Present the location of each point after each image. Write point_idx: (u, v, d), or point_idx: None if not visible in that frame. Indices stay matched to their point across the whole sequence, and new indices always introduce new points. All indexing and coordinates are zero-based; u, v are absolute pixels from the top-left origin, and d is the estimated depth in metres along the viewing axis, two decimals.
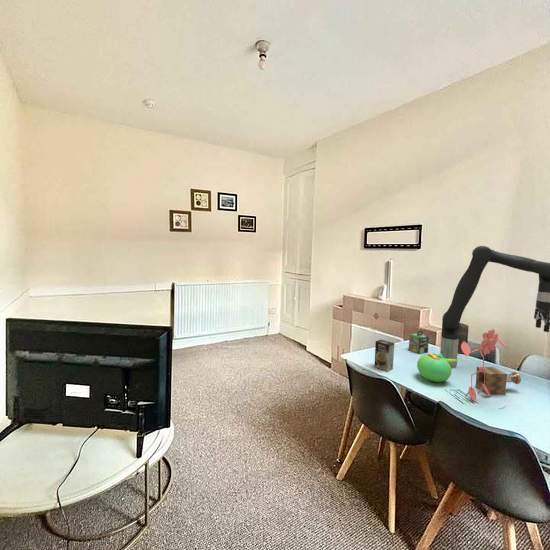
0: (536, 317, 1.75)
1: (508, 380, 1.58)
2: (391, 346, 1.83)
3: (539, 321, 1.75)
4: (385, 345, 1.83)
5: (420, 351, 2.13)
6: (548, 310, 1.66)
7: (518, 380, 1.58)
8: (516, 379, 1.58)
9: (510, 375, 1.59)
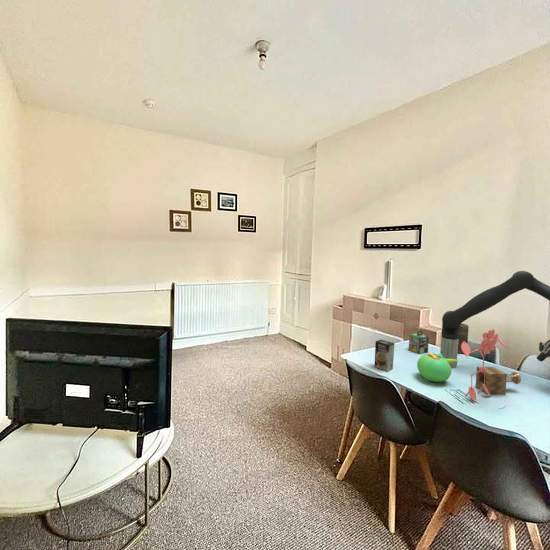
0: (543, 349, 1.61)
1: (508, 380, 1.58)
2: (391, 346, 1.83)
3: None
4: (385, 345, 1.83)
5: (420, 351, 2.13)
6: None
7: (518, 380, 1.58)
8: (516, 379, 1.58)
9: (510, 375, 1.59)
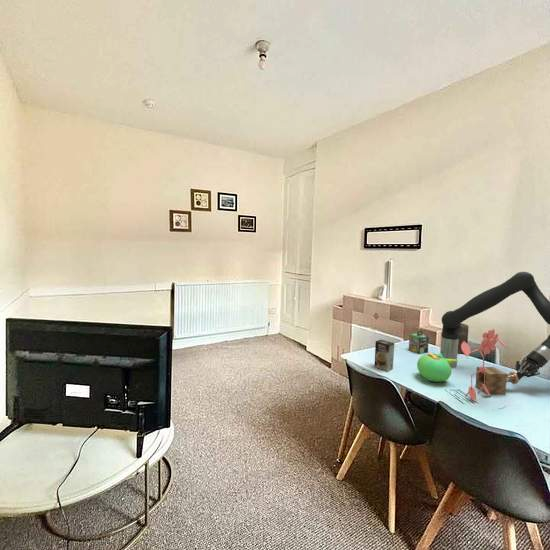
0: (519, 369, 1.62)
1: (506, 380, 1.58)
2: (391, 346, 1.83)
3: None
4: (385, 345, 1.83)
5: (420, 351, 2.13)
6: (540, 365, 1.56)
7: (516, 380, 1.58)
8: (514, 379, 1.58)
9: (508, 375, 1.59)
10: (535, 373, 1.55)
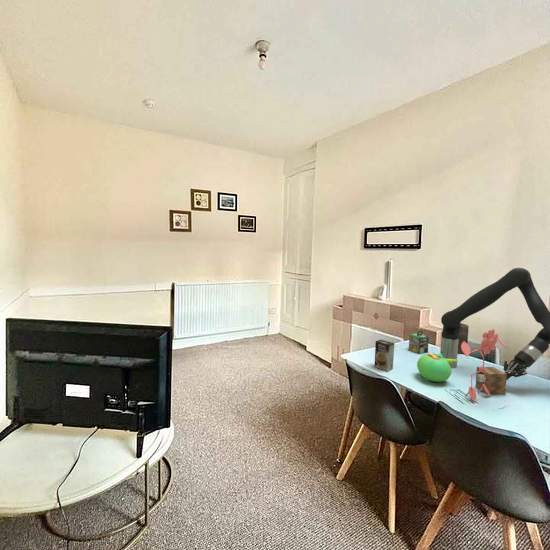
0: (507, 369, 1.61)
1: None
2: (391, 346, 1.83)
3: None
4: (385, 345, 1.83)
5: (420, 351, 2.13)
6: (527, 365, 1.56)
7: None
8: None
9: None
10: (522, 373, 1.55)
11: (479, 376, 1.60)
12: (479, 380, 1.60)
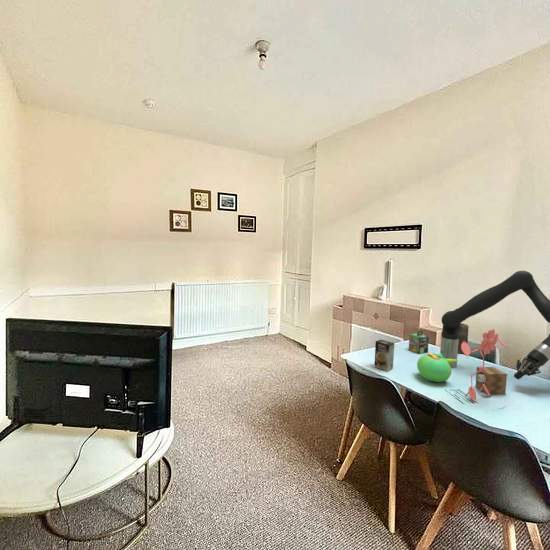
0: (520, 367, 1.61)
1: None
2: (391, 346, 1.83)
3: None
4: (385, 345, 1.83)
5: (420, 351, 2.13)
6: (540, 363, 1.56)
7: None
8: None
9: None
10: (536, 371, 1.54)
11: (479, 376, 1.60)
12: (479, 380, 1.60)
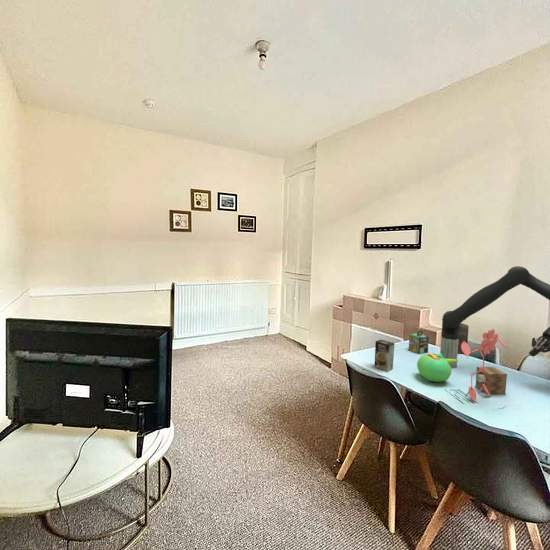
0: (535, 345, 1.63)
1: None
2: (391, 346, 1.83)
3: None
4: (385, 345, 1.83)
5: (420, 351, 2.13)
6: None
7: None
8: None
9: None
10: None
11: (479, 376, 1.60)
12: (479, 380, 1.60)
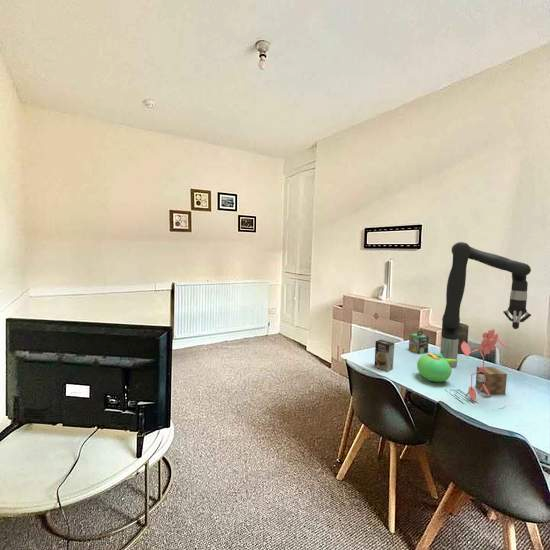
0: (513, 319, 1.78)
1: None
2: (391, 346, 1.83)
3: None
4: (385, 345, 1.83)
5: (420, 351, 2.13)
6: (525, 307, 1.76)
7: None
8: None
9: None
10: None
11: (479, 376, 1.60)
12: (479, 380, 1.60)
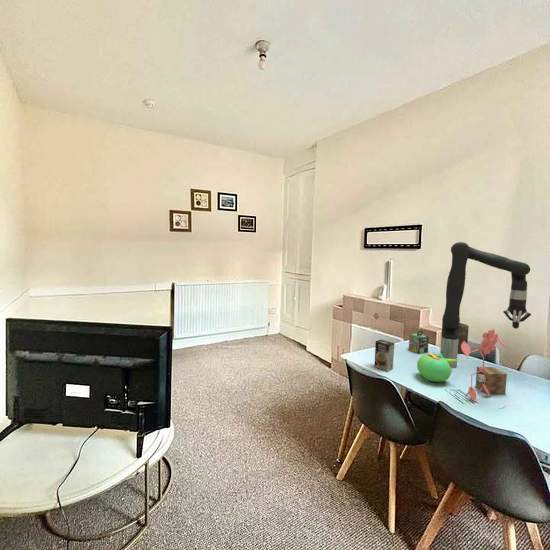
0: (513, 318, 1.77)
1: None
2: (391, 346, 1.83)
3: None
4: (385, 345, 1.83)
5: (420, 351, 2.13)
6: (525, 307, 1.76)
7: None
8: None
9: None
10: None
11: (479, 376, 1.60)
12: (479, 380, 1.60)
